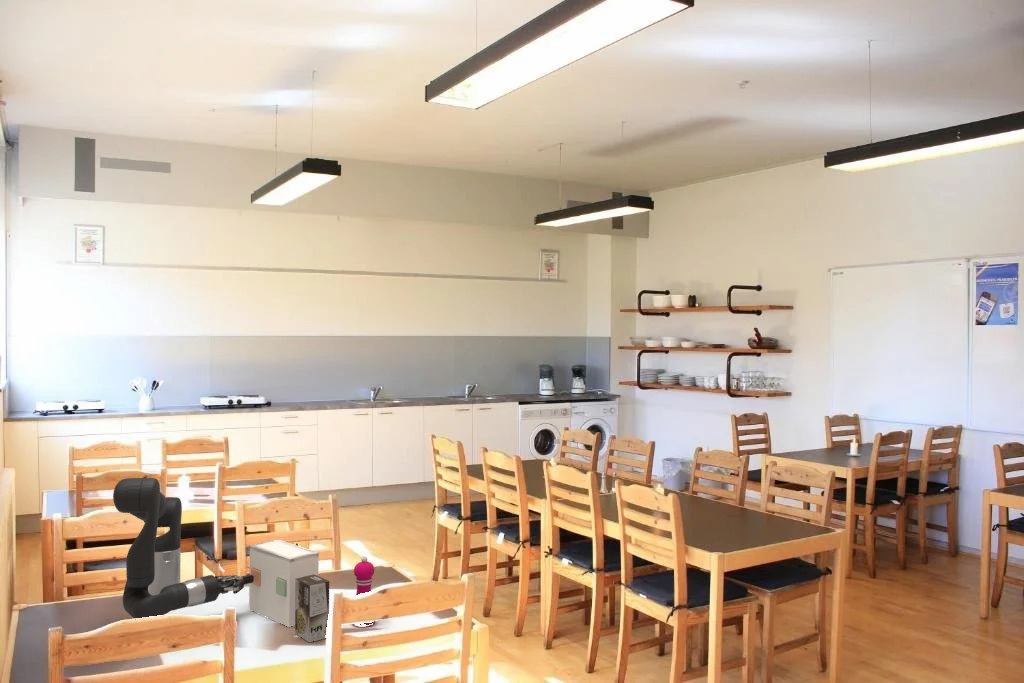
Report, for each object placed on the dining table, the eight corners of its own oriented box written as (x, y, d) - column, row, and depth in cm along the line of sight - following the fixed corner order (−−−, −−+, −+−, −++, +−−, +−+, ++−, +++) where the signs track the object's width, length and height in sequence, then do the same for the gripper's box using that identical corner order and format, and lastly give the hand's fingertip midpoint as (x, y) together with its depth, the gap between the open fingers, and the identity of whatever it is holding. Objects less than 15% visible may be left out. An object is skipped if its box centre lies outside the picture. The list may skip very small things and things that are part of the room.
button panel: (249, 609, 253) (249, 545, 252) (277, 601, 260) (278, 539, 260) (289, 627, 238) (289, 559, 238) (318, 618, 245) (318, 552, 245)
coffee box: (329, 637, 231) (330, 581, 230) (309, 643, 226) (309, 585, 226) (314, 628, 238) (315, 573, 237) (294, 633, 233) (294, 577, 233)
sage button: (275, 593, 242) (276, 578, 242) (287, 590, 245) (287, 575, 244) (284, 596, 239) (284, 581, 239) (296, 593, 242) (296, 578, 242)
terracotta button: (250, 583, 251) (251, 568, 251) (262, 580, 254) (262, 566, 254) (258, 586, 248) (258, 571, 248) (270, 583, 251) (270, 569, 251)
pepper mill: (365, 617, 247) (365, 551, 247) (381, 623, 242) (381, 556, 242) (346, 624, 241) (346, 556, 241) (362, 630, 237) (362, 561, 237)
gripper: (209, 583, 231) (264, 570, 244) (187, 573, 240) (241, 561, 253) (209, 609, 232) (264, 595, 245) (187, 598, 240) (240, 585, 253)
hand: (252, 578), depth 249 cm, fingers closed
